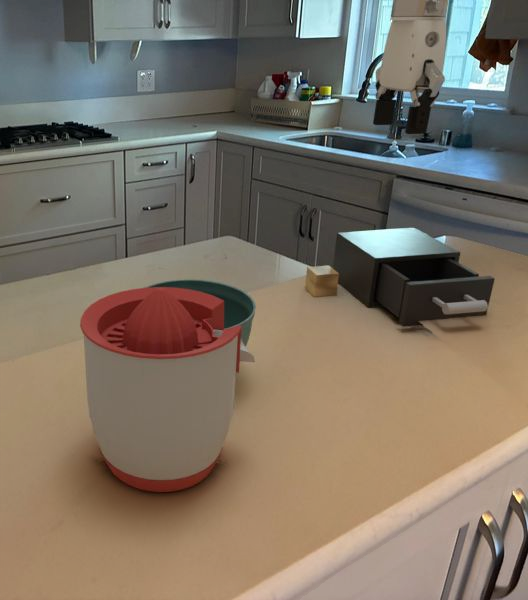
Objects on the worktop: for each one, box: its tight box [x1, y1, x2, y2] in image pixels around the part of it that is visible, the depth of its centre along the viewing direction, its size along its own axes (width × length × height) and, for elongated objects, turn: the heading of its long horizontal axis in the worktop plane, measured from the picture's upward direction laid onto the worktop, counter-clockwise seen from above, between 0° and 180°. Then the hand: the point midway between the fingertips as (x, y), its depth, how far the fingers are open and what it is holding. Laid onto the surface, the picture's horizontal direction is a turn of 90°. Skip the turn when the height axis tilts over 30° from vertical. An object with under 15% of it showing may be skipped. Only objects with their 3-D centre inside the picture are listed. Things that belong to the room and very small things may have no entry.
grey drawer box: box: [332, 227, 462, 309], centre depth 106 cm, size 14×15×9 cm
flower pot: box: [143, 278, 257, 348], centre depth 80 cm, size 16×16×11 cm
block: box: [304, 264, 339, 298], centre depth 106 cm, size 4×4×4 cm
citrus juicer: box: [79, 287, 256, 493], centre depth 63 cm, size 16×17×20 cm
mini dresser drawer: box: [374, 257, 496, 328], centre depth 95 cm, size 17×13×7 cm
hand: (398, 128), depth 98 cm, fingers open, 9 cm apart
